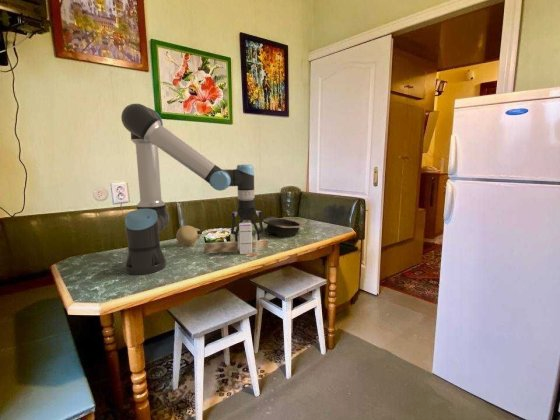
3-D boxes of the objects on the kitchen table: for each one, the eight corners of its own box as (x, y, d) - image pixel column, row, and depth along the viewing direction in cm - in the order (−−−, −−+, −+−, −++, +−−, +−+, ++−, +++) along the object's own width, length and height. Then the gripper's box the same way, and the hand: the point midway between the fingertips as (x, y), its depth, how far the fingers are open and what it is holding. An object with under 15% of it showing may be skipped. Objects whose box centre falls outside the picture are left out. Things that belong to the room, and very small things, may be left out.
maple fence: (202, 259, 132) (202, 251, 132) (204, 251, 144) (204, 243, 143) (270, 254, 138) (270, 246, 137) (267, 247, 149) (267, 239, 148)
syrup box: (252, 253, 139) (252, 222, 137) (239, 254, 138) (239, 223, 136) (251, 250, 145) (251, 220, 142) (238, 250, 144) (238, 220, 141)
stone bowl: (252, 233, 175) (253, 217, 174) (284, 229, 192) (285, 214, 191) (282, 241, 157) (282, 223, 156) (314, 235, 174) (314, 219, 173)
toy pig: (204, 246, 153) (203, 225, 151) (180, 250, 146) (178, 229, 144) (198, 241, 161) (196, 222, 159) (174, 245, 154) (173, 225, 152)
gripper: (223, 201, 132) (225, 251, 136) (269, 199, 135) (270, 248, 139) (223, 198, 139) (225, 246, 143) (267, 197, 143) (268, 244, 147)
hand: (247, 247), depth 141 cm, fingers open, 8 cm apart
